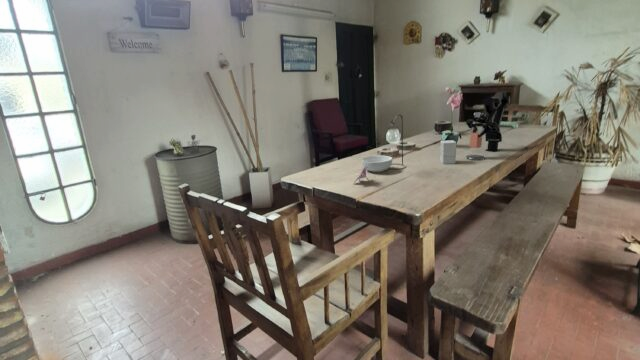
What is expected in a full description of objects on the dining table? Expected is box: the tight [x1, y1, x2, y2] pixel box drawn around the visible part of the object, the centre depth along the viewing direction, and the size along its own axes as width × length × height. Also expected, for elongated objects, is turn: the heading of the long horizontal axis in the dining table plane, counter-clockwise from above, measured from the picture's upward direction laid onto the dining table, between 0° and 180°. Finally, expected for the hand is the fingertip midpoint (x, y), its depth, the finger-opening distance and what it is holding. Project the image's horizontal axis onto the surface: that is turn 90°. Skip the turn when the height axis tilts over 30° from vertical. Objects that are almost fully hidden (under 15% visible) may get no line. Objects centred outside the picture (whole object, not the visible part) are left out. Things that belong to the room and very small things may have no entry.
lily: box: [353, 165, 372, 184], centre depth 171 cm, size 12×12×10 cm
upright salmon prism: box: [469, 131, 483, 149], centre depth 201 cm, size 4×4×8 cm
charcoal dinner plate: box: [465, 154, 485, 161], centre depth 204 cm, size 10×10×1 cm
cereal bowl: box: [361, 154, 393, 173], centre depth 191 cm, size 17×17×7 cm
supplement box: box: [439, 139, 457, 165], centre depth 198 cm, size 7×7×13 cm
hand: (474, 136), depth 200 cm, fingers closed on upright salmon prism, 4 cm apart
